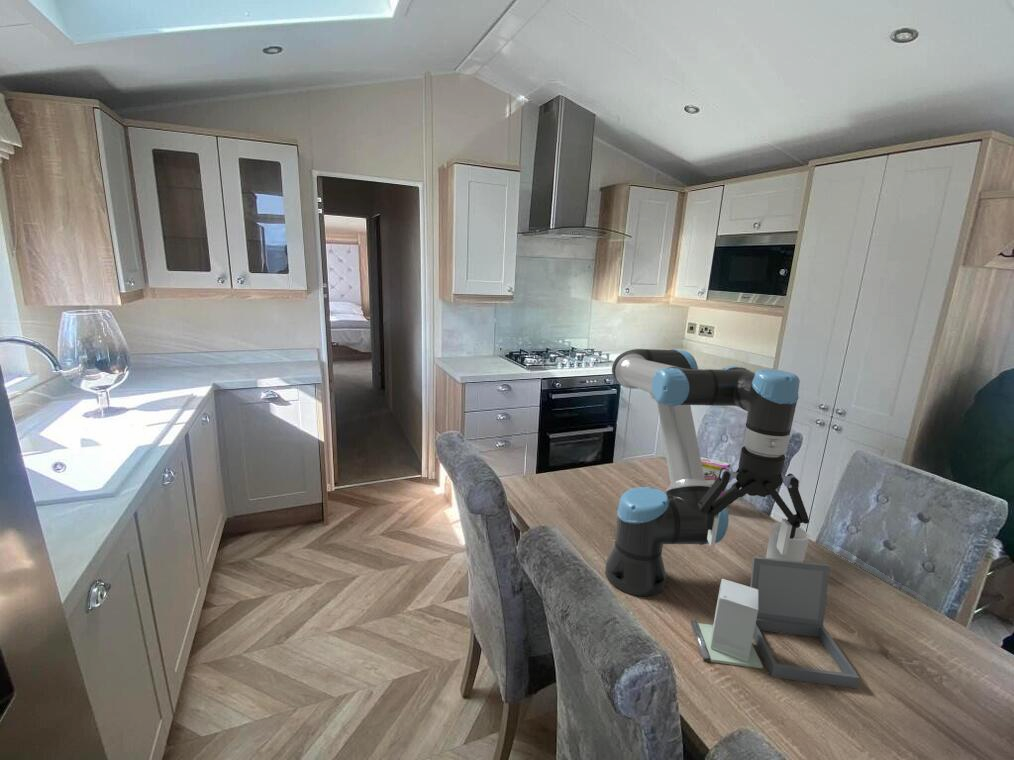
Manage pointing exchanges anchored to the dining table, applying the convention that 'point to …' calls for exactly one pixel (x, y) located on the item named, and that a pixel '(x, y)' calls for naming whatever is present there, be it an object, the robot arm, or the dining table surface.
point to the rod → (699, 640)
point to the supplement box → (735, 619)
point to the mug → (795, 545)
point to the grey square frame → (800, 673)
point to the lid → (790, 590)
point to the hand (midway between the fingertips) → (745, 547)
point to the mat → (724, 658)
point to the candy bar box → (713, 470)
